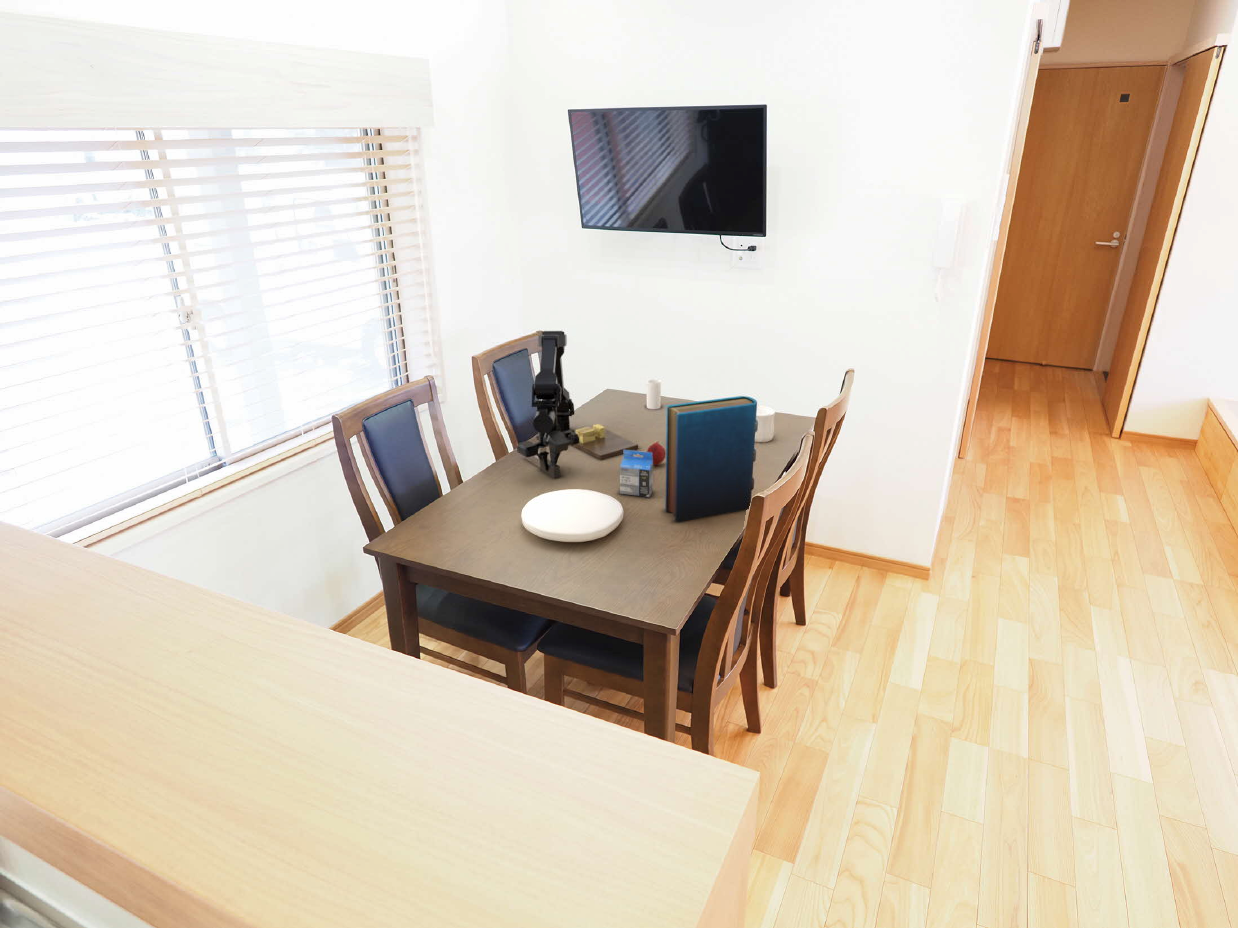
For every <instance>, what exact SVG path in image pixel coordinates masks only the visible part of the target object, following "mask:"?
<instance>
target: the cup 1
mask: <svg viewBox="0 0 1238 928" xmlns="http://www.w3.org/2000/svg"><path fill="white" fill-rule="evenodd" d="M661 387H662V381H661V379H657V378H651V379H647V380H646V408H647V409H648V410H659V409H661V403H662V402H661V400H662V399H661V397H662V395H661V394H662V393H661V391H662V389H661Z"/></svg>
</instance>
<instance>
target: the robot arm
mask: <svg viewBox="0 0 1238 928" xmlns="http://www.w3.org/2000/svg"><path fill="white" fill-rule="evenodd" d="M537 337H538V338H537V342H538V348H539V347H540V348H541V355H540V357H541V359H540V367H539V368H540V369H539V372H538V373H537V374H536V375H535V377H534V383H532V384H531V385H532V386H531V408H536V412H535V416H534V418H533V421H532V426H533V428H534V430H535V431H536V432H537V433H538V435H536V436H535V437H536V438H535V439H536V440H537V441H538V442H532V441H530V440H526V441H522V442H519V443H518V444H517V446H516V450H517V451H516V452H517V453H518V454H520V455H521V456H522V457H525V458H526V457H531V456H537V457H538V458H539V460H540V462H541V463H542V465H543V467H544V469H545V471H548V460H550V461H552V462H554V463H555V464H557V463H558V461H559V458H560V455H561V453H562V452H564V451H565V452H566V451H568V450H569V446H573V445H575V444H579V436H578V434H576V432H574V429H572V428H571V422H570V417H573V416H575V404H574V402H573V399H572V398H571V396H570V392H569V390H567V389H566V387H565V383H564V371H563V370H564V369H563V362H562V361H563V360H562V357H563V355H564V354H565V350H566V347H567V345H568V336H567V334H565V331H563V330H543V331H542V332H541V334H538V335H537ZM547 448H548V451H547ZM548 456H549V457H550V458H549V459H548ZM547 459H548V460H547ZM557 465H558V464H557Z"/></svg>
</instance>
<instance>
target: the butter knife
mask: <svg viewBox="0 0 1238 928" xmlns="http://www.w3.org/2000/svg"><path fill="white" fill-rule="evenodd" d="M525 460H526V461H528V462H530V463H531V464H533V465H535V466H537V467H538V468H539V470H540V471H541V472H542V473H544V474H546V475H547V476H549V477H551V478H552V479H557V478H560V477H561V466H560V465H559V464H555V463H554V462H552V461H551V459H549V458H547V460H548V471H545V469H544V467H543V465H542V463H541V462H540V460H539V458H538V456H537V455H535V456H531V457H525Z"/></svg>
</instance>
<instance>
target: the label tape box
mask: <svg viewBox="0 0 1238 928" xmlns="http://www.w3.org/2000/svg"><path fill="white" fill-rule="evenodd" d="M622 454H623V457H622V460H621V462H620V465H619V494H620V495H628V496H629V495H630V496H638V497H645V498H650V497H651V495H652V493H653V488H654V487H653V485H654V484H653V481H654V479H653V478H654V477H653V476H654V475H653V474H654V473H653V472H654V471H653V470H654V464H653V458H652V453H650V452H647V451H641V450H633V451H632V450H623V453H622ZM637 455H638V456H637Z"/></svg>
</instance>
